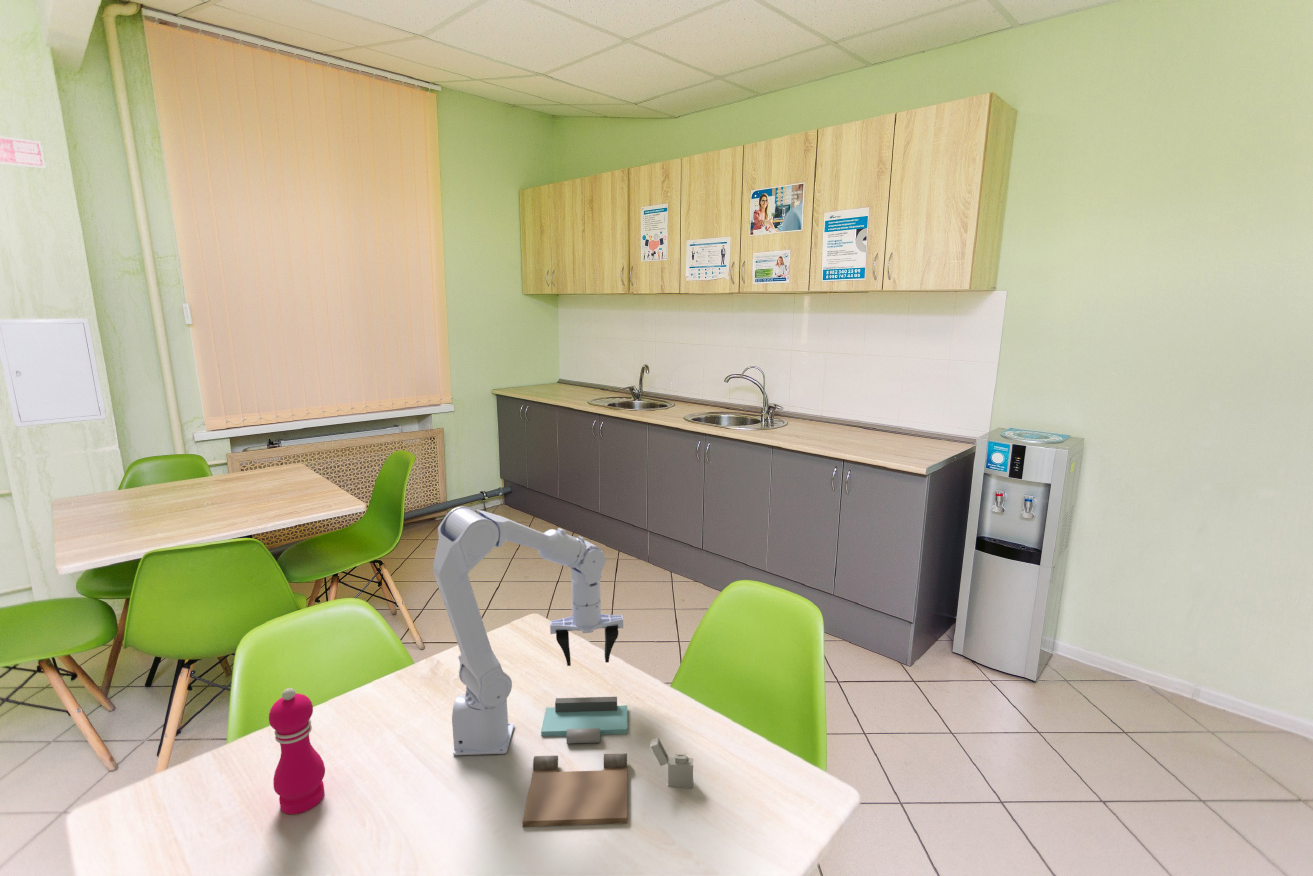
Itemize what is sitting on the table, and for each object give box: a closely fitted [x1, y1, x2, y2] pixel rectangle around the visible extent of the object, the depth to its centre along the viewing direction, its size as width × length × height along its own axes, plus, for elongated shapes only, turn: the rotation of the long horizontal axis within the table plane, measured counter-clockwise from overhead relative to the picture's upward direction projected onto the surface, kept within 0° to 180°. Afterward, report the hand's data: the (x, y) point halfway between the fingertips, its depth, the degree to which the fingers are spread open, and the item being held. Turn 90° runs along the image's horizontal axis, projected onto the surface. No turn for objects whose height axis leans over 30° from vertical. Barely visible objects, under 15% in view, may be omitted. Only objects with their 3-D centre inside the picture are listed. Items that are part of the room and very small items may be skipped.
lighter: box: [650, 737, 694, 789], centre depth 103 cm, size 7×2×8 cm, turn 86°
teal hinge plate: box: [540, 696, 628, 744], centre depth 118 cm, size 16×10×3 cm, turn 93°
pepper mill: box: [268, 687, 326, 815], centre depth 99 cm, size 7×7×20 cm
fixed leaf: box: [521, 752, 628, 828], centre depth 102 cm, size 16×13×2 cm
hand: (587, 661), depth 126 cm, fingers open, 7 cm apart
